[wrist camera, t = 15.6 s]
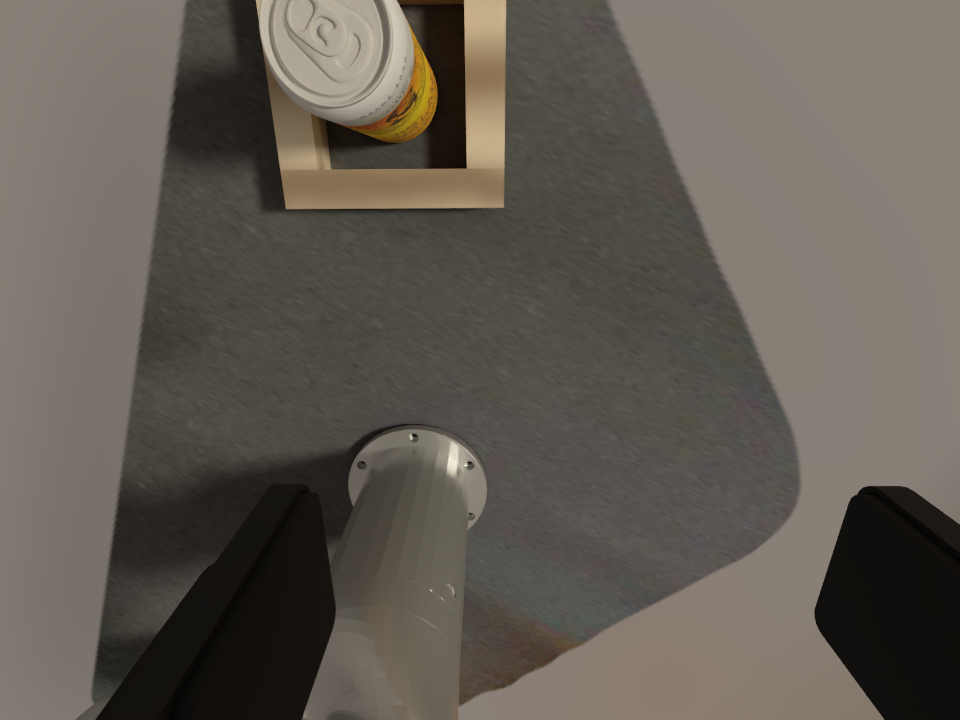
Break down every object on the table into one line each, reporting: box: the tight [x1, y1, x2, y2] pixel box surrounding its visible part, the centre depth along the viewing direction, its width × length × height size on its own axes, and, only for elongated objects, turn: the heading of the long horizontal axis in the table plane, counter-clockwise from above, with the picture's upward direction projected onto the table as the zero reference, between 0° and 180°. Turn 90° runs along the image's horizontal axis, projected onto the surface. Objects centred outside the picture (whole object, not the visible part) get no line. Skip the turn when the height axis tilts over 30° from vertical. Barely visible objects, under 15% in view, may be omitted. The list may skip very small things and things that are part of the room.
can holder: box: [256, 0, 506, 209], centre depth 31 cm, size 15×15×3 cm
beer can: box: [259, 0, 438, 143], centre depth 26 cm, size 6×6×15 cm
